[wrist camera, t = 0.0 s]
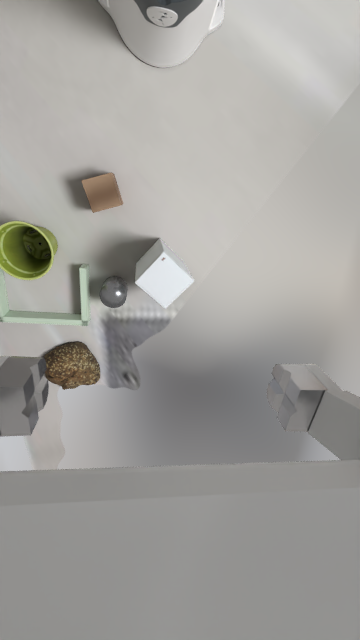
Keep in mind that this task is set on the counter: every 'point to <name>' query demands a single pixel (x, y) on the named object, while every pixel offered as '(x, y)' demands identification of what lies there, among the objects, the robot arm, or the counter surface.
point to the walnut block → (102, 192)
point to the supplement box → (162, 274)
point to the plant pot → (26, 250)
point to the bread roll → (72, 366)
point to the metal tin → (114, 292)
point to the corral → (4, 315)
